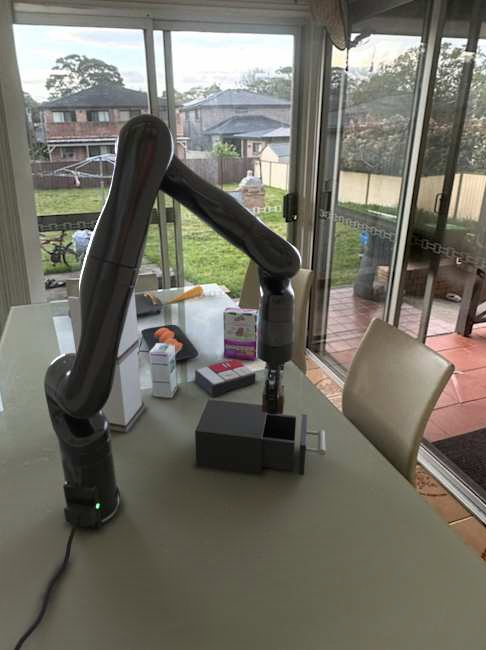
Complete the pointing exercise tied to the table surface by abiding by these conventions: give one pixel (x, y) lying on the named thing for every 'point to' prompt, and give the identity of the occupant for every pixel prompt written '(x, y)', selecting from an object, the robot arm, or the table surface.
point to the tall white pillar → (119, 370)
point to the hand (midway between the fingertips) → (273, 406)
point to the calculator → (224, 377)
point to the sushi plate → (169, 340)
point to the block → (280, 400)
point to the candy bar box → (240, 333)
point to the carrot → (189, 294)
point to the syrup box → (163, 370)
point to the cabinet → (230, 436)
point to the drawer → (287, 442)
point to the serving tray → (146, 303)
